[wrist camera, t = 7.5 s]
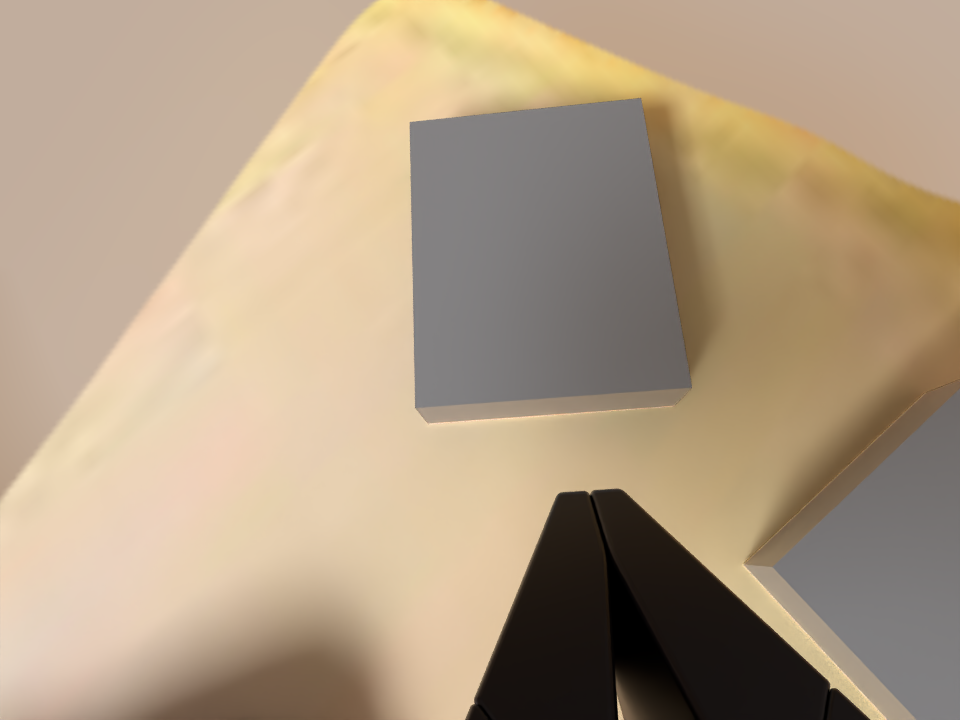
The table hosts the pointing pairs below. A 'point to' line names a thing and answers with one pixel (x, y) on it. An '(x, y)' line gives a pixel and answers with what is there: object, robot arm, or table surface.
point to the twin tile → (883, 564)
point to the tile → (541, 266)
